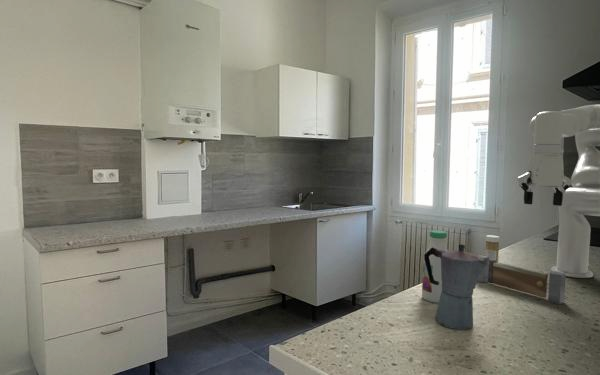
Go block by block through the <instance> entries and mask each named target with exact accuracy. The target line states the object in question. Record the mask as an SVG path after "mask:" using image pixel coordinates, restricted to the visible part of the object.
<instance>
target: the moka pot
mask: <svg viewBox="0 0 600 375" xmlns="http://www.w3.org/2000/svg"><path fill="white" fill-rule="evenodd" d="M465 248H466V245H464V244H458V250H453V249H451V250H448V251H444V250H437V249H435V248H433V247H432V248H431V249H430V250H429V251H427V250H426V251H427V253H426V252H425V253H426V254H425V253H424V255H423V261H424V260H425V264H426V267H427V272H428V276H429V280H430V283H432V284H434V285H439V282H438V281H435V280H434V278H433V275H432V268H431V265H430V259H429V256H430V255H432V254H433V255H434V256H436V257H440V258H441V278H442V291H441V295H440V299H439V303H437V308H436V311H435V317H434V319H435V320H436V322H437V323H438V324H440V325H442V326H444V327H447V328H449V329H453V330H460V331H466V330H467V331H468V330H469V329H471V328H473V326H474V313H473V312H474V311H473V310H474V308H473V304H474V301H473V294H474V289H476V287H477V283H478V282H477V279H478V277H479V276H480V274H481V273H482V271H483V270H484V268H485V267H486V265H489V262H488V261H486V260H485V259H483V258H480V257H479V255H477V254H474V253H471V252H468V251H465Z"/></svg>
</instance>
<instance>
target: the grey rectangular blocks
mask: <svg viewBox="0 0 600 375" xmlns="http://www.w3.org/2000/svg"><path fill="white" fill-rule="evenodd" d="M478 256H479V257H480V258H483V259H485V260H486V261H488V262H489V257H487V256H485V255H482V254H481V255H480V254H479V255H478ZM488 270H489V265H486V267H485V268H484V270H483V271H482V273H481V274H480V276H479V277H478V279H477V283H481V284H484V283H488ZM548 277H549V280H548V294H547V296H548V297H547V302H549V303H551V304H555V305H562V304H564V303H565V297H566V296H565V293H566V279H567V278H566V277H567V276H566V274H564V273H560V272H555V271H554V272H552V271H551V272H549V276H548Z"/></svg>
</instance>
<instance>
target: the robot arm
mask: <svg viewBox="0 0 600 375" xmlns="http://www.w3.org/2000/svg"><path fill="white" fill-rule="evenodd" d="M528 131H529V133H530V135H531V136H532V137H533V148H532V149H533V150H532V154H530V155H529V158H528V160H527V164H526V168H525V169H526V170H525V173H524V174H522V175H520V176H518V177H517V178H516V179H517V181H518V184H519V187H520V188H521V190H522V192H523V203H524V204H525V205H533V200H534V198H533V196H534V192H533V190H534V189H535V188H536V187H545V188H546V187H549V188H553V190H554V191H555V192H553V197H552V198H553V199H552V205H553V206H557V208H558V217H559V218H558V220H559V221H558V222H559V223H558V233H557V234H558V236H557V237H558V238H557V251H556V252H557V253H556V265H554V266H552V267H551V272H554V271H555V272H560V273H564V274H566V277H569V278H576V279H590V278H593V276H594V273H593V272H592V271H590V270H589V265H590V262H589V258H590V256H589V255H590V245H591V243H590V242H591V230H592V229H591V225H590V223H589V221H588V219H587V218H586V217H585V216H591V217H592V216H593V217H594V216H595V217H600V150H599V149H598V148H596V147H600V103H599V104H588V105H583V106H578V107H574V108H569V109H564V110H559V111H554V110H549V111H546V110H545V111H541V112H539V113H537V114H536V116H534V117H533V118H532V119H531V120H530V122H529V125H528ZM569 137H570V138H571V137H574V138H575V147H576V150H577V153H578V154H577V155H578V160H577V163H576V164H575V168H574V170H573V173H572V175H571V178H569V177H567V176H566V175H565V174H564V172H565V168H564V166H565V165H564V158H563V155H562V153H564V152H565V149H564V148H563V147H562V142H563V138H569ZM570 186H572V187H570ZM524 204H523V205H524Z"/></svg>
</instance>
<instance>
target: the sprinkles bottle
mask: <svg viewBox="0 0 600 375" xmlns="http://www.w3.org/2000/svg"><path fill="white" fill-rule="evenodd" d="M500 238H501V237H500V236H498V235H493V234H487V235H485V255H484V256H487V257H489V260H496V262H498V263H499V258H500V256H499V250H500V248H499V247H500V241H501V239H500ZM488 271H489V270H488Z"/></svg>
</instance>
